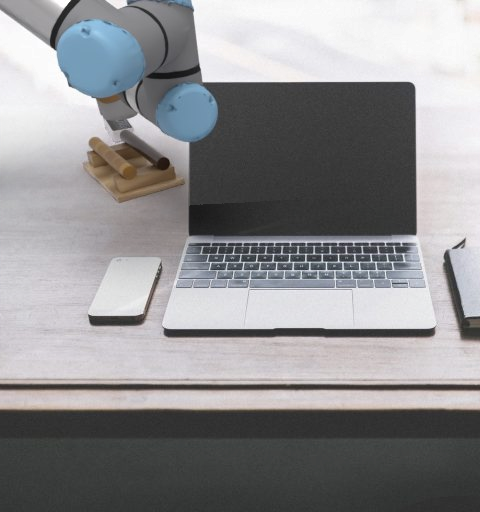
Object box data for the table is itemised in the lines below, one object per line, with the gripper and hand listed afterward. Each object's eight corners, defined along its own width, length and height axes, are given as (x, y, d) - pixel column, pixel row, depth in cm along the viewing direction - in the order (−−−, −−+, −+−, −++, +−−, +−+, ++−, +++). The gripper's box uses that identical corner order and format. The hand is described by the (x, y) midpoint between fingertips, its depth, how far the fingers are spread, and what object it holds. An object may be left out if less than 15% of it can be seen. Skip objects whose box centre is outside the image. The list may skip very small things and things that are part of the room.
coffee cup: (153, 108, 109) (137, 18, 101) (130, 124, 102) (112, 29, 94) (110, 106, 110) (91, 17, 103) (85, 122, 103) (63, 28, 96)
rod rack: (184, 183, 109) (180, 153, 106) (118, 202, 103) (111, 171, 100) (143, 152, 123) (138, 125, 120) (83, 167, 117) (76, 139, 114)
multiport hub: (114, 142, 128) (112, 131, 127) (104, 126, 136) (102, 116, 135) (135, 138, 130) (133, 127, 128) (125, 123, 138) (123, 113, 137)
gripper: (82, 131, 86) (42, 94, 102) (219, 101, 96) (163, 71, 112) (68, 77, 82) (30, 47, 98) (213, 51, 92) (156, 28, 108)
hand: (101, 60), depth 105 cm, fingers closed on coffee cup, 8 cm apart
